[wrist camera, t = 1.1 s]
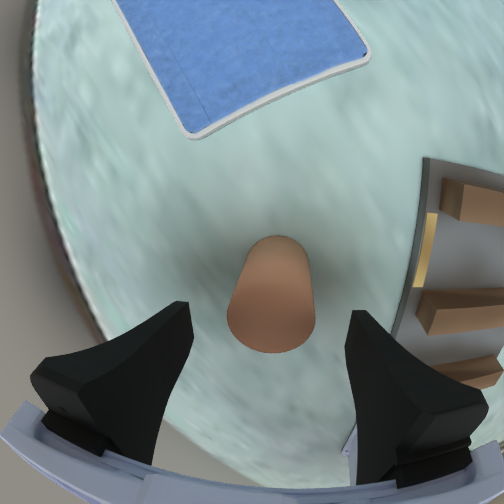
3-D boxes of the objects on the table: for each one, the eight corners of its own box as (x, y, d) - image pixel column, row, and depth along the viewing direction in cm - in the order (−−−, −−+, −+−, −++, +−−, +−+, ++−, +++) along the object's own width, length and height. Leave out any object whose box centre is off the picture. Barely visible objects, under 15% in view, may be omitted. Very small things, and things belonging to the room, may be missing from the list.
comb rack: (483, 368, 19) (495, 390, 16) (372, 385, 21) (378, 415, 18) (542, 188, 12) (568, 199, 9) (423, 157, 14) (451, 162, 10)
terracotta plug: (306, 293, 18) (310, 354, 13) (247, 290, 19) (229, 349, 13) (310, 236, 17) (319, 283, 11) (245, 234, 17) (224, 279, 12)
